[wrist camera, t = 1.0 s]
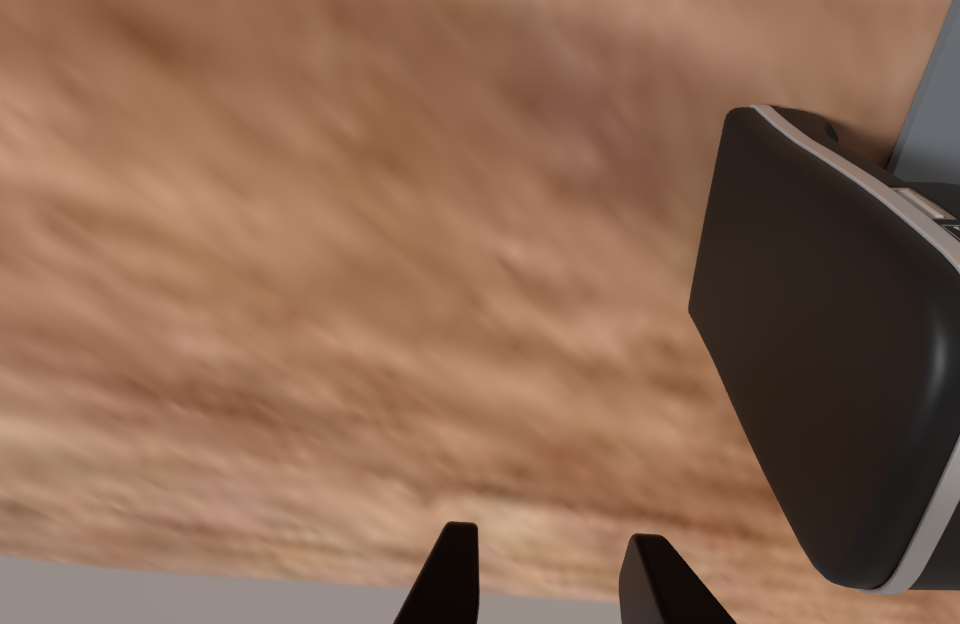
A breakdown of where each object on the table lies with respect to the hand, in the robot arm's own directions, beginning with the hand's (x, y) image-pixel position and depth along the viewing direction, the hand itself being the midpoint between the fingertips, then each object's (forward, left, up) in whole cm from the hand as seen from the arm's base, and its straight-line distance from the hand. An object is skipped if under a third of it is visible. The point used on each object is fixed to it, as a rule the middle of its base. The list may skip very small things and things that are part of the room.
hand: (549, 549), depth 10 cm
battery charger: (-8, 0, -13) cm, 15 cm away
